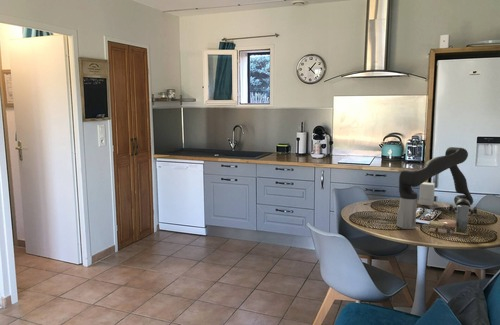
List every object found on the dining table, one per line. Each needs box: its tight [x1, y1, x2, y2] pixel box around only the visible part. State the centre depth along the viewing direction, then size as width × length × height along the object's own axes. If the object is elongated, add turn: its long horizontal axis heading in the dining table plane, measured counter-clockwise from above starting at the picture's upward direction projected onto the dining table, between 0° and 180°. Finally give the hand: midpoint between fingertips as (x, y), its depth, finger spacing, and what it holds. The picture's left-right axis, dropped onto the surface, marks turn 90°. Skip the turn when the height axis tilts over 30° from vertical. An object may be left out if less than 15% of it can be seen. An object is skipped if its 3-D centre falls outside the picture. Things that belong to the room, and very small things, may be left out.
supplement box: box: [418, 181, 436, 207], centre depth 290 cm, size 9×9×15 cm
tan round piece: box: [438, 218, 456, 229], centre depth 240 cm, size 14×14×1 cm
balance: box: [428, 220, 469, 238], centre depth 224 cm, size 19×7×5 cm, turn 62°
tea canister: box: [454, 205, 470, 233], centre depth 220 cm, size 6×6×14 cm
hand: (462, 212), depth 230 cm, fingers open, 8 cm apart
